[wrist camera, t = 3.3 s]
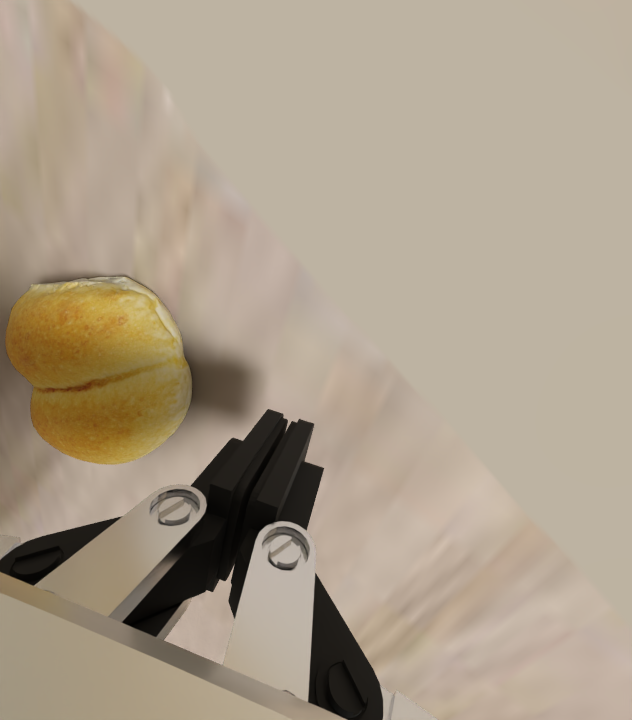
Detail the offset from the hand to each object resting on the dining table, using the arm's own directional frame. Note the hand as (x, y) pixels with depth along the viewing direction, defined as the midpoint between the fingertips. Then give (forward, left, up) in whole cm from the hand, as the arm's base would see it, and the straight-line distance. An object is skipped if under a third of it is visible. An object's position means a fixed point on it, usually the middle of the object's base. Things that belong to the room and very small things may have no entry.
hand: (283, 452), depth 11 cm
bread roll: (+10, +1, -4) cm, 11 cm away
